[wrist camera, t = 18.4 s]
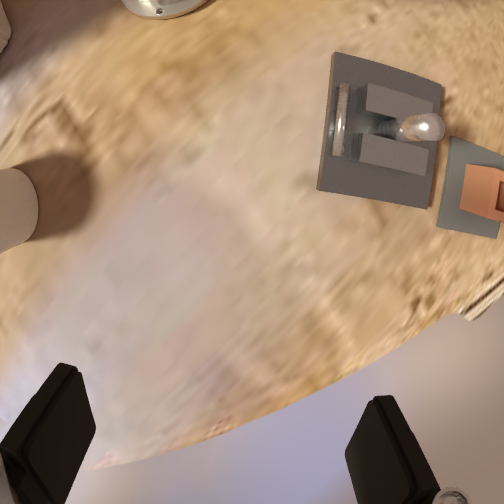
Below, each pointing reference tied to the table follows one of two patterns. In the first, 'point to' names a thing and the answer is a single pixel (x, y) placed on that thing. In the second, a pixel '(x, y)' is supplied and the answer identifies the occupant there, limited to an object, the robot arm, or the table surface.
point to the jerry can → (4, 28)
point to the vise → (379, 132)
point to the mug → (16, 208)
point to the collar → (483, 192)
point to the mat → (453, 187)
